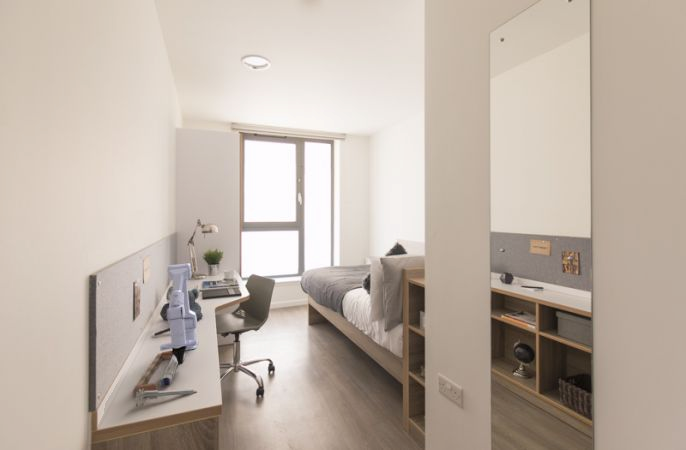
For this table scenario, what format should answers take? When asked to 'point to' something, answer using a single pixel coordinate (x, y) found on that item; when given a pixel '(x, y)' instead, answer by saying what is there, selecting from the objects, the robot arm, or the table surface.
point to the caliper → (160, 394)
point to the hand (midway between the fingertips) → (180, 363)
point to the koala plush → (192, 304)
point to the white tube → (169, 372)
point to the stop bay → (151, 373)
